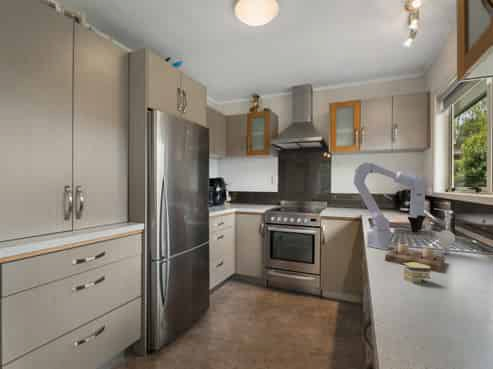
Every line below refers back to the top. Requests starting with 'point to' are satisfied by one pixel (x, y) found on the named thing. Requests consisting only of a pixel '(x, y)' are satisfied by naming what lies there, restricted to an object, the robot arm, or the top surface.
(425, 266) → the stacked layers on plate
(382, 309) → the top surface
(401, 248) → the beech peg
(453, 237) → the lightbulb
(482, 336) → the top surface
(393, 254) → the pegboard
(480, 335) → the top surface
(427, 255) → the peg
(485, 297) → the top surface
